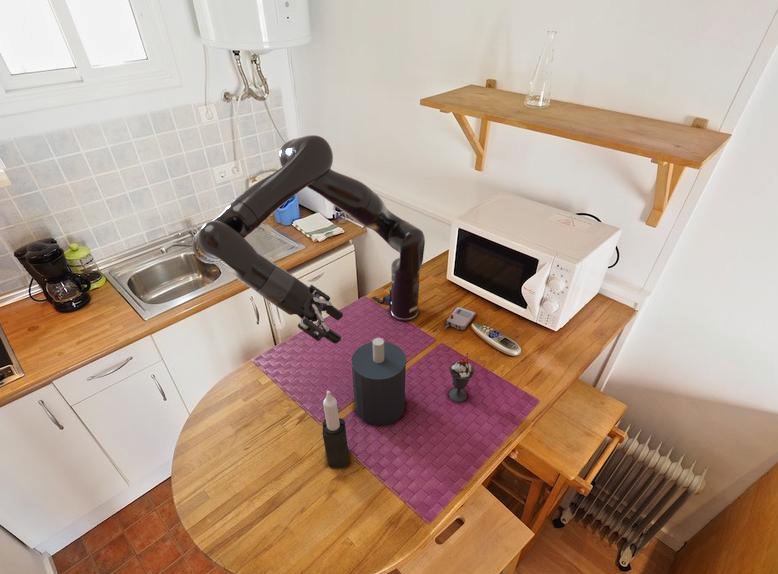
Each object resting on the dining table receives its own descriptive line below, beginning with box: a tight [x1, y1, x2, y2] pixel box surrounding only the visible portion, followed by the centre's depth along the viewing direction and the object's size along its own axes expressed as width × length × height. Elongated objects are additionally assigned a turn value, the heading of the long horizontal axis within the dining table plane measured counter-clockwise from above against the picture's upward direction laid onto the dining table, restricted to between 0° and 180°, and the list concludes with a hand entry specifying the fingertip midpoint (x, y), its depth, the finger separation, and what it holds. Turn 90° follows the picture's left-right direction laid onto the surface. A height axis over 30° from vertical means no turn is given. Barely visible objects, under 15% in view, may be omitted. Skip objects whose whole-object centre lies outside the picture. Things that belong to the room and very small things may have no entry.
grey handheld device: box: [444, 306, 477, 331], centre depth 146 cm, size 7×16×3 cm, turn 148°
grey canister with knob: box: [350, 337, 407, 426], centre depth 111 cm, size 14×14×24 cm
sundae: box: [448, 352, 475, 403], centre depth 117 cm, size 7×7×15 cm
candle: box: [321, 390, 350, 469], centre depth 98 cm, size 5×5×25 cm
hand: (339, 328), depth 101 cm, fingers open, 8 cm apart
